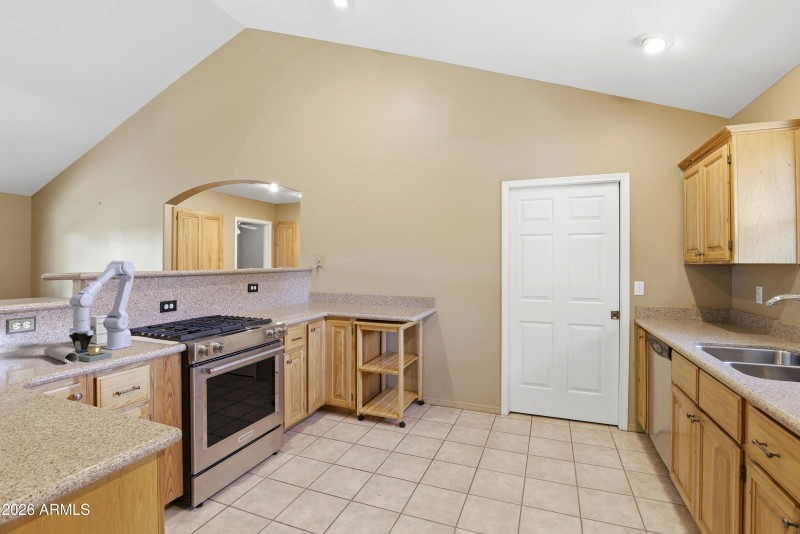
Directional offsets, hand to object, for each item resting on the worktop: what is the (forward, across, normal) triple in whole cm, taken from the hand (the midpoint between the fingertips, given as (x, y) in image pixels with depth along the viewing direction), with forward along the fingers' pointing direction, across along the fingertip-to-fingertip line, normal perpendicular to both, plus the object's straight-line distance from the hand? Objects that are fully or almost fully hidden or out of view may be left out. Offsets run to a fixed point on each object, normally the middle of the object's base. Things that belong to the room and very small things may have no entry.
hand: (81, 349), depth 181 cm
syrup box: (+3, -22, +20) cm, 30 cm away
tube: (+4, -2, -7) cm, 8 cm away
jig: (+3, +5, 0) cm, 6 cm away
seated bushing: (+3, +10, 0) cm, 10 cm away
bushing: (+3, 0, 0) cm, 3 cm away
